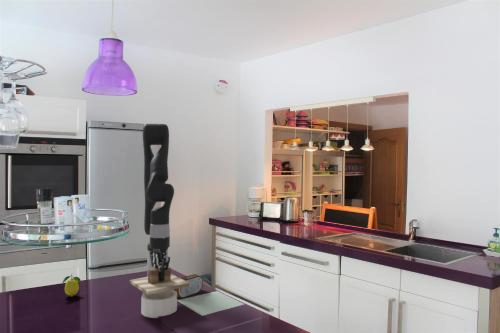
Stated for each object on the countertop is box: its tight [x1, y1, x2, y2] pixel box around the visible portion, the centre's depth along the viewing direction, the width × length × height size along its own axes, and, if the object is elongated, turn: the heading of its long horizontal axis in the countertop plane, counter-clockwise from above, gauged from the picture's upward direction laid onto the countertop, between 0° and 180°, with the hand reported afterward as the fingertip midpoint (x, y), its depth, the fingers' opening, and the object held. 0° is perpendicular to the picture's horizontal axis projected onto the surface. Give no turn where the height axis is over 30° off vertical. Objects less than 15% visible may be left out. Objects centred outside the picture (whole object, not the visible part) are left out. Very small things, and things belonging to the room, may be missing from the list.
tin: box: [173, 273, 204, 299], centre depth 170 cm, size 15×3×8 cm, turn 141°
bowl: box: [140, 289, 178, 319], centre depth 152 cm, size 13×13×6 cm
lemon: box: [61, 274, 82, 297], centre depth 167 cm, size 7×6×10 cm
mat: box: [177, 290, 245, 317], centre depth 160 cm, size 20×20×1 cm
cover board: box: [129, 266, 190, 295], centre depth 152 cm, size 17×17×6 cm
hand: (159, 279), depth 152 cm, fingers closed on cover board, 3 cm apart
